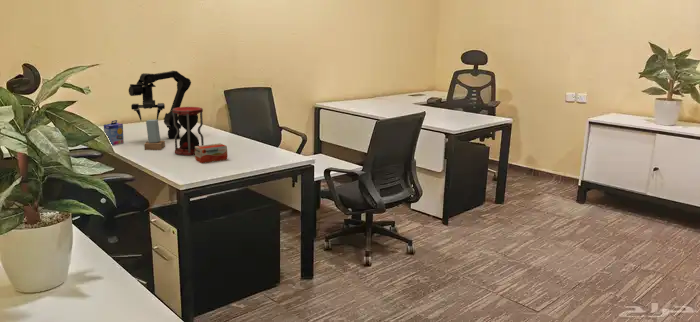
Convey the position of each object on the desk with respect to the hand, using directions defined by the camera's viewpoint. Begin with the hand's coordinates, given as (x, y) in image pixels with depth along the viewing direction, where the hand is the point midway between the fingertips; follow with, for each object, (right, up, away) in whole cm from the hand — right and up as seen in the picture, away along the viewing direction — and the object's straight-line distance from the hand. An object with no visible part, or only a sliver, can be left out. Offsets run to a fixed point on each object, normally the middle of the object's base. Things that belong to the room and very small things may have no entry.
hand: (149, 120), depth 332 cm
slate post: (+9, -13, -15) cm, 22 cm away
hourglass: (+31, -20, -23) cm, 43 cm away
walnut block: (+9, -18, -14) cm, 24 cm away
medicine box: (+47, -24, -38) cm, 65 cm away
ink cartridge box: (-18, -15, -6) cm, 24 cm away
